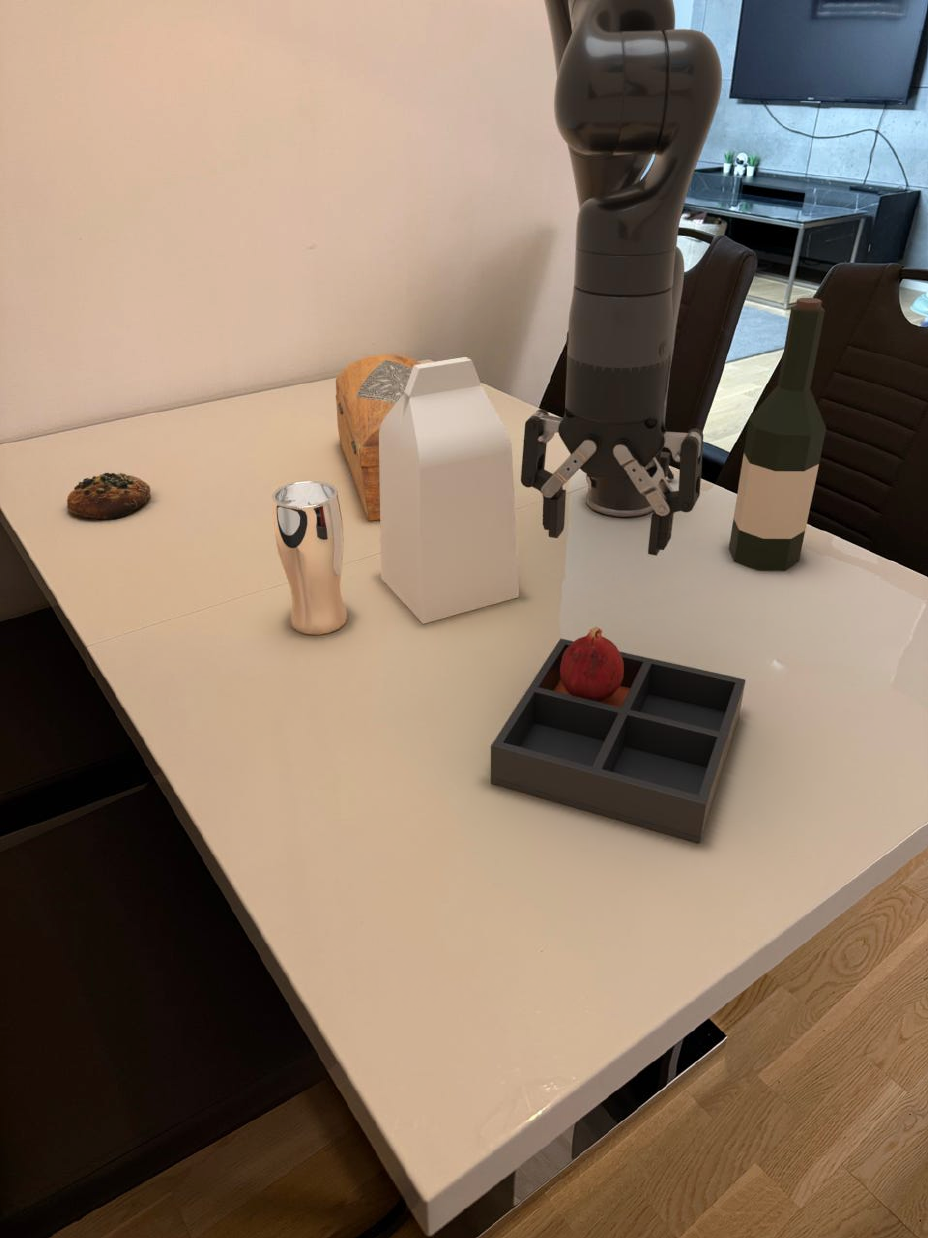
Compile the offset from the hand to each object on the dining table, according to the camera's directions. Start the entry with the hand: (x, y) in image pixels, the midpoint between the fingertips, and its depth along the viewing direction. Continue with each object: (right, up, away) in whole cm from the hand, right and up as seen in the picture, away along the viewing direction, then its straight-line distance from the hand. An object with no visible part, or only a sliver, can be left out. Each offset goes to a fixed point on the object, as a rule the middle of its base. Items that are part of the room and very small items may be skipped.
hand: (604, 542), depth 77 cm
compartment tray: (+2, -18, +4) cm, 18 cm away
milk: (-14, -3, +29) cm, 32 cm away
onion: (0, -14, +9) cm, 17 cm away
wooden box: (-20, +15, +58) cm, 63 cm away
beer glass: (-28, -7, +23) cm, 37 cm away
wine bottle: (+25, +1, +35) cm, 43 cm away
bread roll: (-61, +9, +50) cm, 79 cm away
